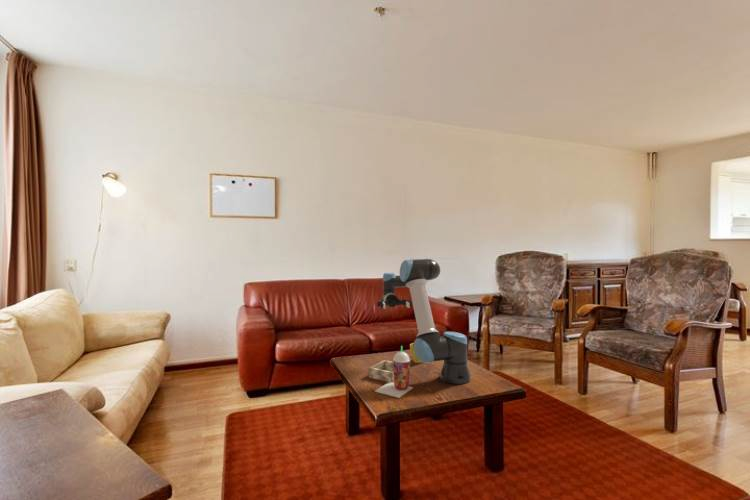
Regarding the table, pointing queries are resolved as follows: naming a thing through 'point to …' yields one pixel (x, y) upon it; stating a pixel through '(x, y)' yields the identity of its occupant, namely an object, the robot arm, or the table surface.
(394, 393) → the mat
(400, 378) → the smoothie
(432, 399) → the table surface
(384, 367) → the holder
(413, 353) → the plant pot
